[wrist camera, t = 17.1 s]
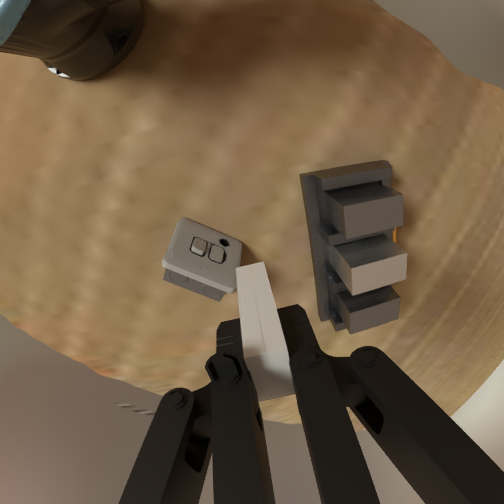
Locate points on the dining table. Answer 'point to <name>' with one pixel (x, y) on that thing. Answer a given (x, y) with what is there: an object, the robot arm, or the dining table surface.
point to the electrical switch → (202, 260)
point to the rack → (350, 237)
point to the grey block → (369, 263)
